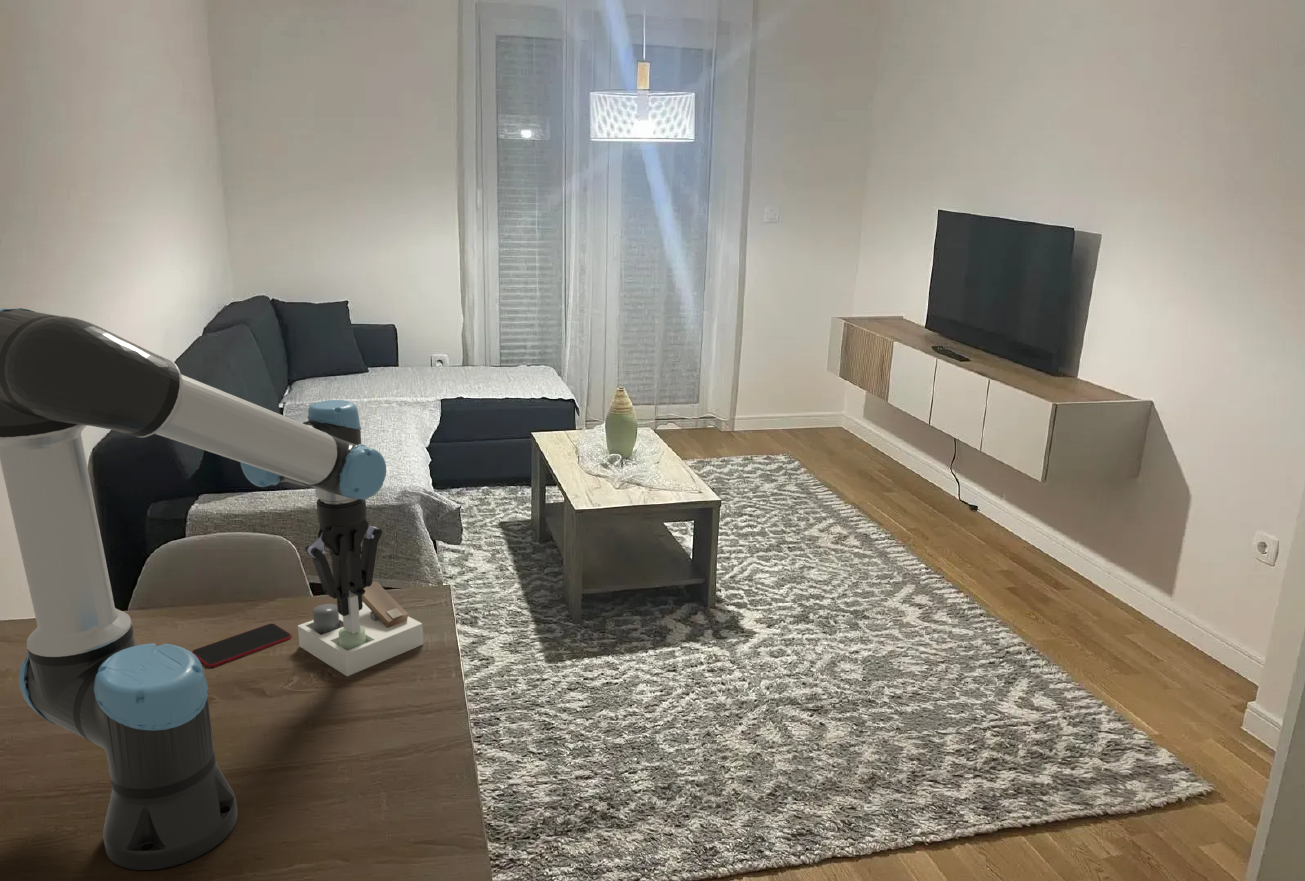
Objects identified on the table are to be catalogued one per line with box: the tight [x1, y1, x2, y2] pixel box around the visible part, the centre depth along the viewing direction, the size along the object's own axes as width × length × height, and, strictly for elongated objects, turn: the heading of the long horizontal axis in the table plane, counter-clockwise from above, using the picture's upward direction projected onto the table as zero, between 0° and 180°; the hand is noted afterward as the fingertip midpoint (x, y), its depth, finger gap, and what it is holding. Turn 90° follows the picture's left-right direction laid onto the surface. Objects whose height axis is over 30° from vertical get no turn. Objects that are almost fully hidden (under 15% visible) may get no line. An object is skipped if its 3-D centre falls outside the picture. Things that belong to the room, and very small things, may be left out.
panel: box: [297, 601, 424, 677], centre depth 170 cm, size 15×15×5 cm
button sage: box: [339, 626, 366, 651], centre depth 164 cm, size 4×4×4 cm
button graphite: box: [312, 603, 340, 635], centre depth 169 cm, size 4×4×4 cm
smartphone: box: [191, 623, 293, 668], centre depth 170 cm, size 7×1×15 cm
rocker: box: [362, 580, 409, 628], centre depth 172 cm, size 4×10×2 cm, turn 48°
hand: (352, 629), depth 164 cm, fingers closed
